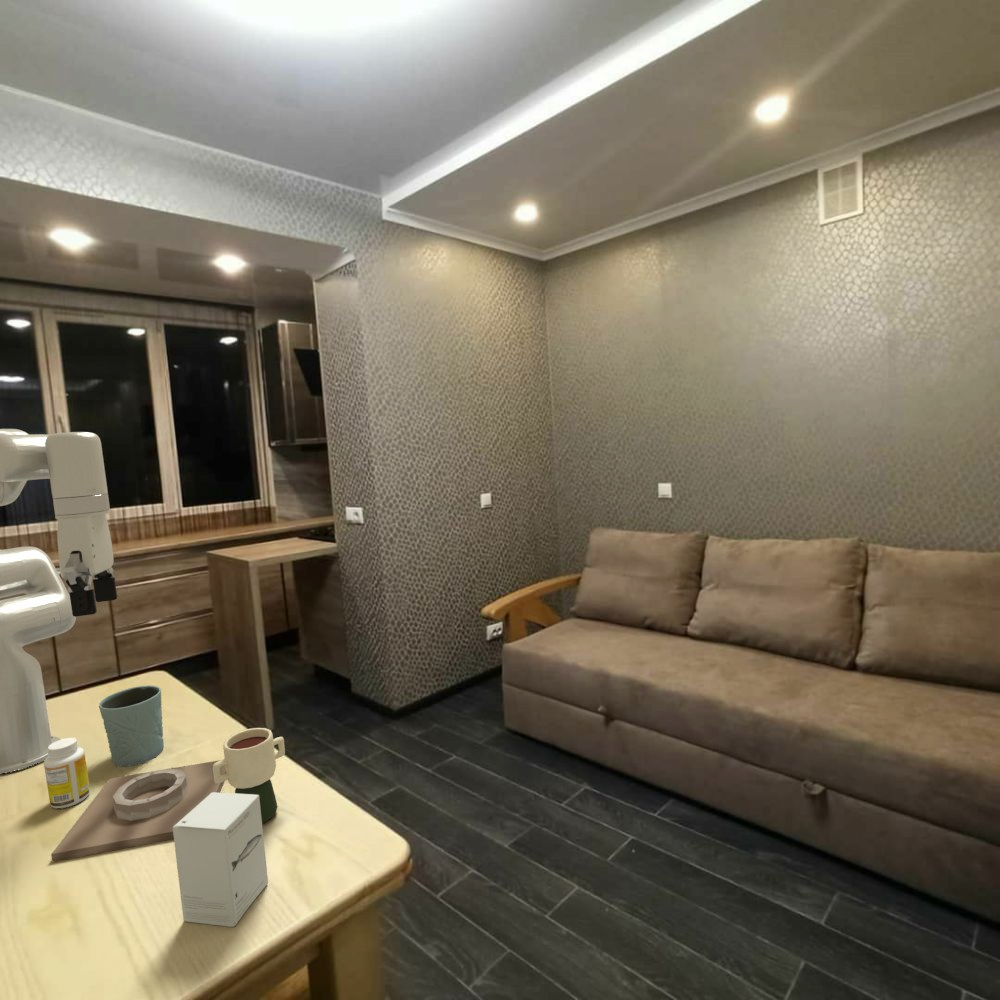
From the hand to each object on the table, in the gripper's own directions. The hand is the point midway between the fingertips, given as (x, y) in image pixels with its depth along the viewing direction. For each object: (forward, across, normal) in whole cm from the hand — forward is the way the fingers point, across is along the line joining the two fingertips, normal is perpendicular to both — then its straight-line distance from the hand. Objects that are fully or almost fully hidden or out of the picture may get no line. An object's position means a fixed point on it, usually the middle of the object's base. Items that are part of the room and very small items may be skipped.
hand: (96, 607), depth 99 cm
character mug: (+33, +18, +24) cm, 44 cm away
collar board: (+33, +8, +7) cm, 34 cm away
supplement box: (+33, +35, +22) cm, 53 cm away
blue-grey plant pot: (+33, -12, -1) cm, 35 cm away
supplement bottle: (+33, 0, -8) cm, 34 cm away
